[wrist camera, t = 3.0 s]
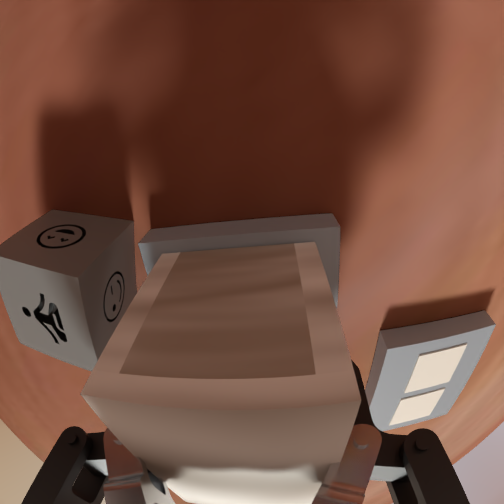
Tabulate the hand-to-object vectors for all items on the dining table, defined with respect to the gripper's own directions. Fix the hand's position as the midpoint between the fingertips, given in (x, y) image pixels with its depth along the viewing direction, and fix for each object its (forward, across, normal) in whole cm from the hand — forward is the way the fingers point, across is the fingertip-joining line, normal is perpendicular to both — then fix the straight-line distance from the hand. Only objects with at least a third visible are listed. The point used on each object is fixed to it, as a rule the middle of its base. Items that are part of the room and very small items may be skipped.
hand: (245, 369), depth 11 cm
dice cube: (+4, +8, -4) cm, 10 cm away
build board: (+4, -11, +7) cm, 14 cm away
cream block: (+2, 0, 0) cm, 2 cm away
